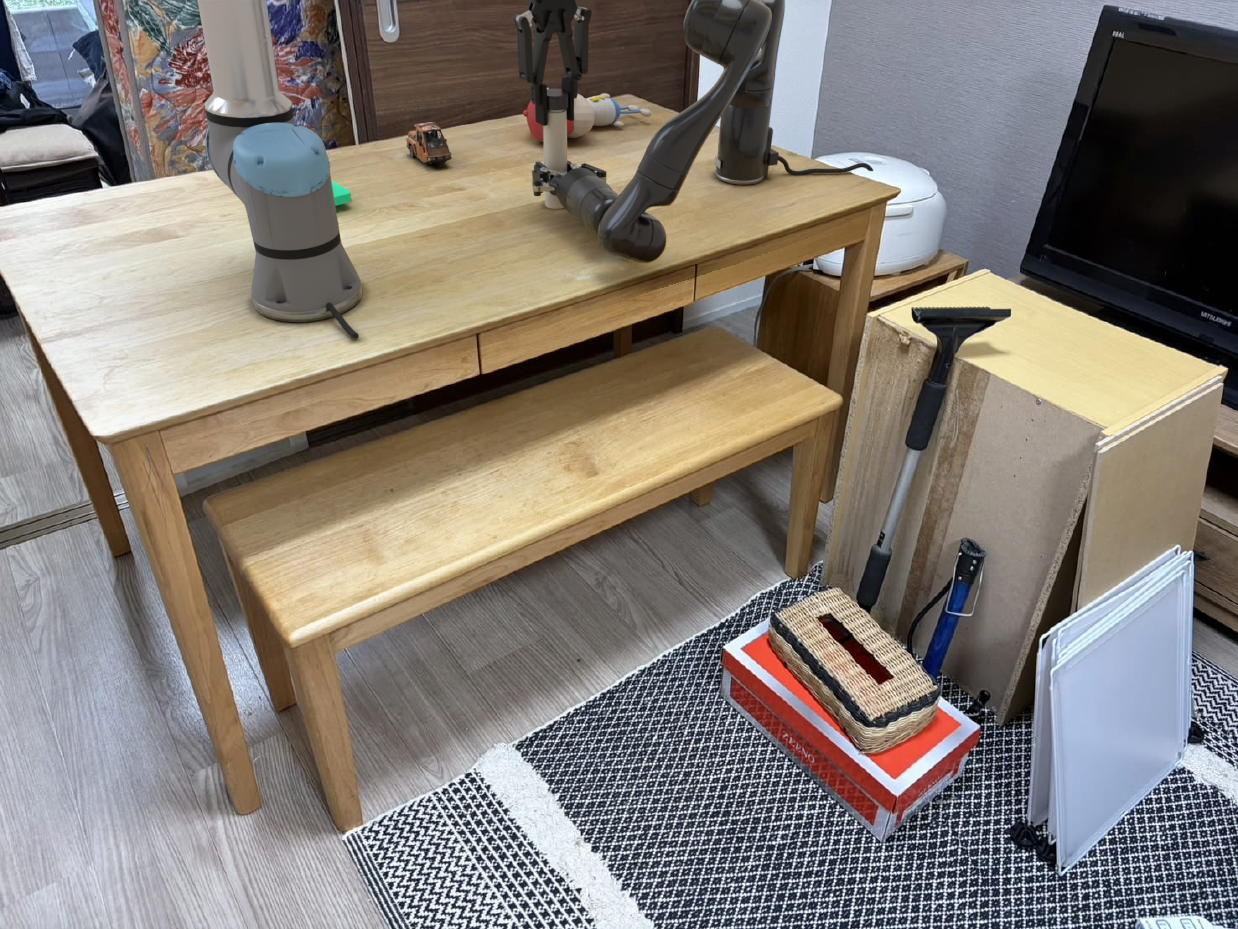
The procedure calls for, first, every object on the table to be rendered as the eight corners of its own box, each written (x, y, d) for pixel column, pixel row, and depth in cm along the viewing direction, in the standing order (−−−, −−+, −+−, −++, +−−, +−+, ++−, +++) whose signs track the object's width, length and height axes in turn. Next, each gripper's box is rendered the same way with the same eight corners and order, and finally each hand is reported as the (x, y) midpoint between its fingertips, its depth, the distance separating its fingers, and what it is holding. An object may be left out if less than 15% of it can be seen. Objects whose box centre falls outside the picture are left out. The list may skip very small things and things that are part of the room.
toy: (670, 94, 197) (547, 94, 182) (666, 143, 201) (545, 148, 186) (623, 81, 210) (504, 81, 195) (620, 128, 215) (504, 131, 200)
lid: (571, 103, 158) (570, 89, 156) (565, 111, 154) (564, 97, 153) (544, 101, 158) (544, 87, 157) (538, 109, 154) (537, 95, 153)
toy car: (429, 148, 188) (425, 113, 184) (459, 164, 181) (457, 129, 177) (400, 154, 185) (396, 118, 181) (431, 171, 178) (427, 134, 173)
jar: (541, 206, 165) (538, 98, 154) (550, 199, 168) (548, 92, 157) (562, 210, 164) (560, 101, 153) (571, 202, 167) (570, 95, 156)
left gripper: (586, -41, 150) (585, 107, 164) (490, -32, 142) (498, 123, 156) (612, -34, 145) (610, 118, 159) (515, -25, 137) (521, 135, 151)
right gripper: (628, 170, 153) (586, 139, 165) (547, 181, 148) (510, 148, 160) (626, 214, 157) (586, 180, 169) (548, 226, 152) (512, 191, 164)
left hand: (554, 120), depth 157 cm, fingers closed on lid, 5 cm apart
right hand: (549, 165), depth 165 cm, fingers closed on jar, 4 cm apart
